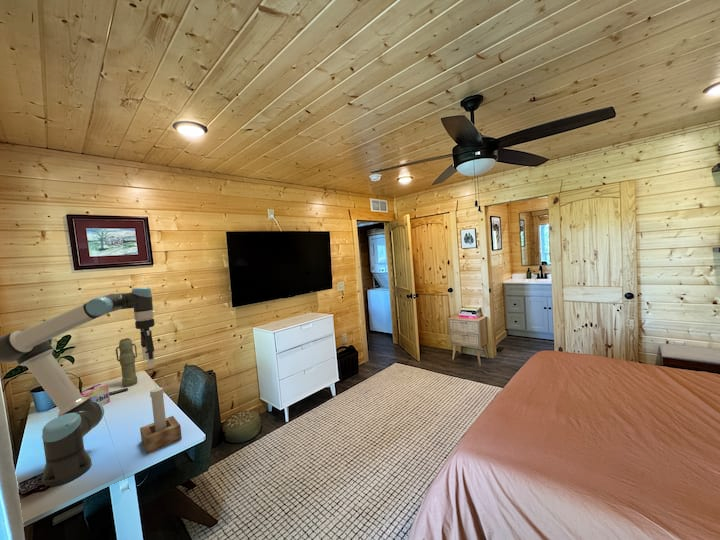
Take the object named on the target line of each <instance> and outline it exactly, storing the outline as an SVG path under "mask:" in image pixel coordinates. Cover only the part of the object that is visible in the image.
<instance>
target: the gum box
mask: <svg viewBox="0 0 720 540" xmlns="http://www.w3.org/2000/svg"><path fill="white" fill-rule="evenodd" d="M108 385H109V384H107V383H106V384H101V383H98V384H95V385H93V386H91V387H89V388H86V389H84V390H82V391H79V392H80V394H81V395H82V396H83V397H89V398H90V400H91V401H95V402H99V403H100V404H101V405H102V406H103V407H104V406H105V405H108V404H109V403H111V400H110V396H109V392H110V391H109V386H108Z"/></svg>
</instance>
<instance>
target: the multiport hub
mask: <svg viewBox="0 0 720 540" xmlns="http://www.w3.org/2000/svg"><path fill="white" fill-rule="evenodd" d="M128 391H129V387H124V388H121V389H118V390H114V391H109V397H110V396H115V395H118V394H122V393H125V392H128Z"/></svg>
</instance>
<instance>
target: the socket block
mask: <svg viewBox="0 0 720 540" xmlns="http://www.w3.org/2000/svg"><path fill="white" fill-rule="evenodd" d="M166 426H167V428H164V429H162V430H159V431H157V432H155V426H154V422H152V423H150V424H146V425H145V426H141V427H139V430H140V438H141V439H140V440H141V444H142V445H143V448H144V450H145V451H146V454H150V453H153V452H154V451H157V450H160V449H161V448H165V447H166V446H168V445H171V444H173V443H176V442H177V441H180V440H182V437H183V436H182V428H181V427H182V426H181V424H180V423H179V422H178V420H177V419H176V417H174V415H171V416H168V417H166Z"/></svg>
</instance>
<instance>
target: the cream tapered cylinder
mask: <svg viewBox="0 0 720 540" xmlns="http://www.w3.org/2000/svg"><path fill="white" fill-rule="evenodd" d="M149 379H150V380H151V381H152V382H153V384H154V385H155V388H153V389H151V390H150V391H149V397H150V398H151V406H152V414H153V423H154V426H155V432H157V431H159V430H162V429H164V428H167V426H166V418H167V417H166V409H165V400H164V393H165V391H164V388H163V387H157V385H156V383H155V381H154V380H153V379H152V378H151V377H149Z"/></svg>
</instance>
